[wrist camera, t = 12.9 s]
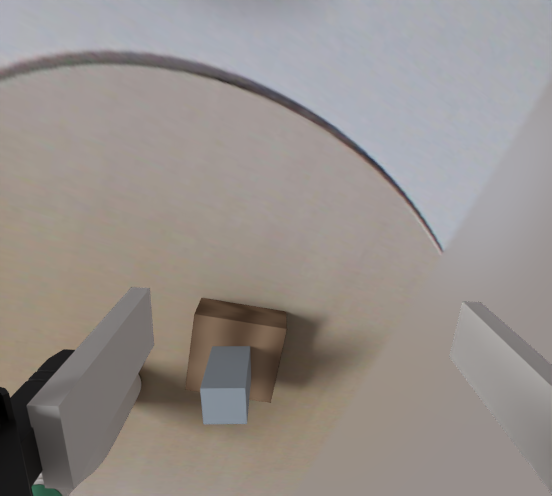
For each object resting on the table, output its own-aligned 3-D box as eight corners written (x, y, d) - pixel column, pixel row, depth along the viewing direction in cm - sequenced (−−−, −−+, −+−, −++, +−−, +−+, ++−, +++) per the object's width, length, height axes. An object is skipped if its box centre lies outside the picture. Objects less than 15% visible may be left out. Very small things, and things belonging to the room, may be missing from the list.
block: (214, 377, 49) (203, 424, 41) (212, 346, 47) (200, 388, 40) (251, 377, 49) (246, 423, 41) (250, 346, 47) (245, 388, 40)
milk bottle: (115, 349, 53) (26, 475, 34) (153, 383, 55) (88, 519, 36) (81, 377, 55) (-23, 511, 36) (118, 408, 56) (39, 552, 38)
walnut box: (193, 366, 54) (185, 389, 50) (202, 296, 51) (194, 314, 46) (271, 378, 55) (270, 402, 50) (286, 310, 51) (286, 329, 46)
